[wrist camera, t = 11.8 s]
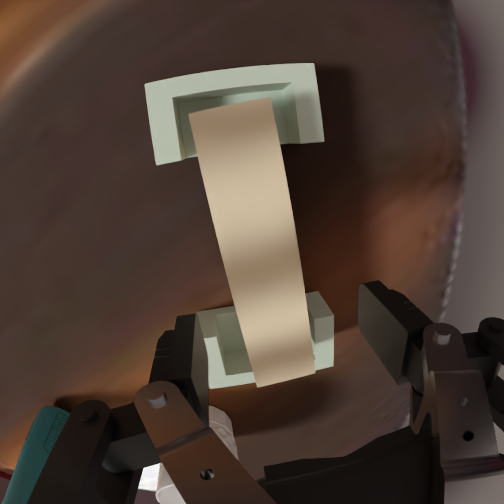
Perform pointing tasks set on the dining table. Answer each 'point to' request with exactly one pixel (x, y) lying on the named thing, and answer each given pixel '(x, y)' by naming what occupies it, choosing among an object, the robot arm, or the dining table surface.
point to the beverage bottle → (35, 453)
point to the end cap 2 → (234, 349)
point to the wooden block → (256, 235)
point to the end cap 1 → (230, 92)
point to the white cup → (223, 428)
